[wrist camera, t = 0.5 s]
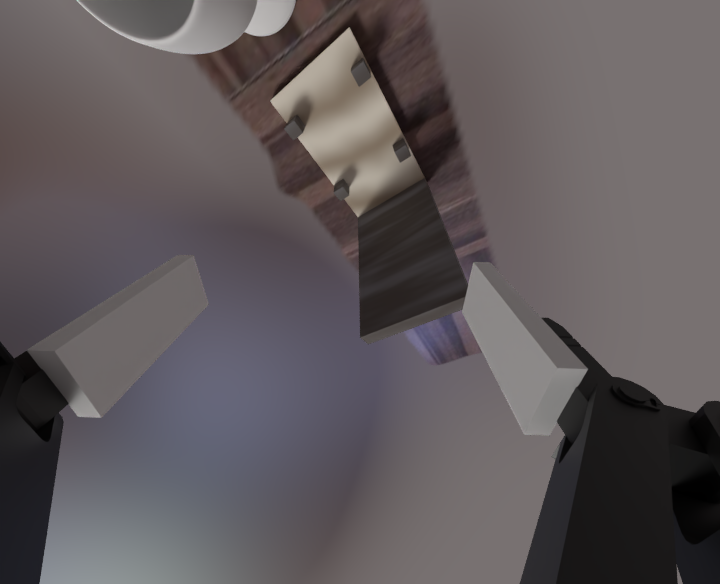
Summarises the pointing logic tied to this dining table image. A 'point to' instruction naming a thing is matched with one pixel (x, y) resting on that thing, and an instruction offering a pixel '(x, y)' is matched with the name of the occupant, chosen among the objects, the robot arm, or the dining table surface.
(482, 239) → the dining table surface
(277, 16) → the wineglass
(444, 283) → the pegged display stand
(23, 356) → the robot arm
